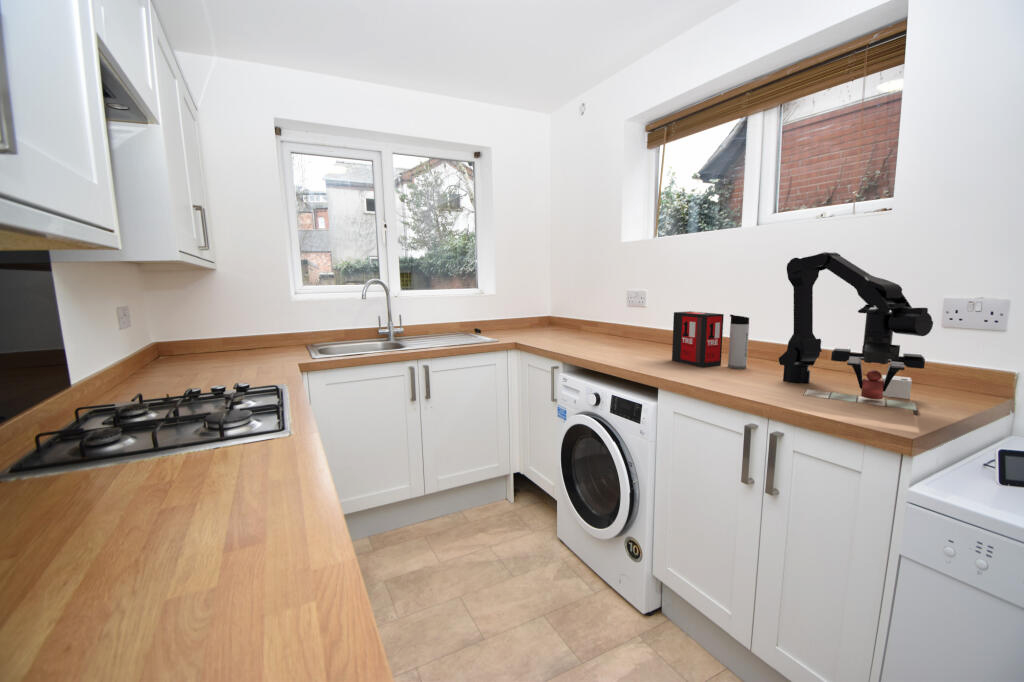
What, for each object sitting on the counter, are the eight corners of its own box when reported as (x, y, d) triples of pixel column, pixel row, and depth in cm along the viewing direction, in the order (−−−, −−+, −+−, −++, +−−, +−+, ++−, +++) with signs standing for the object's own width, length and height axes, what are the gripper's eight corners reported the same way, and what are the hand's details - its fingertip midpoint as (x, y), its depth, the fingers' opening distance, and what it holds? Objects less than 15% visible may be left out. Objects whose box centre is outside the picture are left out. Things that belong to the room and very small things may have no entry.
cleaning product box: (720, 365, 172) (723, 314, 169) (703, 367, 168) (706, 315, 165) (688, 358, 187) (690, 311, 184) (671, 360, 183) (673, 312, 180)
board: (802, 399, 125) (802, 395, 124) (806, 392, 131) (806, 388, 131) (917, 414, 109) (917, 410, 109) (915, 406, 116) (915, 402, 116)
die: (880, 399, 123) (882, 378, 123) (880, 395, 128) (882, 374, 127) (909, 403, 120) (911, 381, 119) (908, 398, 124) (910, 377, 123)
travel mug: (724, 365, 172) (727, 314, 169) (742, 365, 171) (746, 314, 168) (730, 369, 166) (733, 315, 163) (749, 369, 165) (752, 315, 162)
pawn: (860, 397, 118) (863, 370, 117) (861, 394, 121) (864, 367, 120) (882, 400, 115) (885, 372, 114) (882, 396, 119) (885, 369, 117)
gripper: (832, 332, 115) (826, 390, 118) (930, 337, 104) (922, 402, 106) (835, 328, 124) (830, 382, 126) (926, 332, 112) (918, 392, 115)
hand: (872, 389), depth 118 cm, fingers closed on pawn, 4 cm apart
